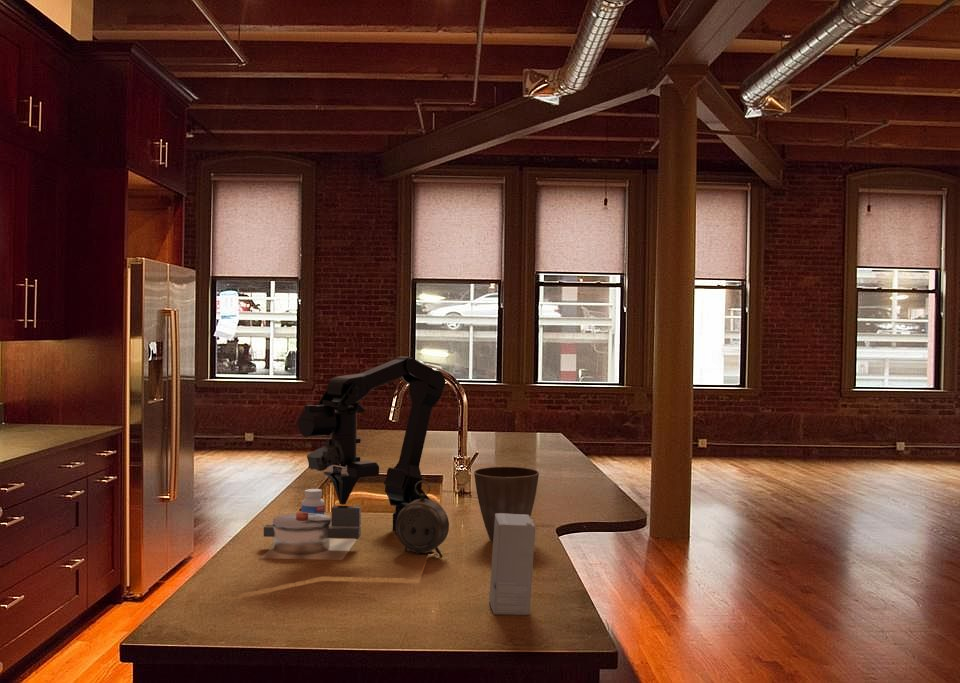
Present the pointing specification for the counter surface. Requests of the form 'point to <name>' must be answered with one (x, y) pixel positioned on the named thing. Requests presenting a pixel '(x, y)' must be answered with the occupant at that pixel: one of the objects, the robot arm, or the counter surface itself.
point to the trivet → (334, 553)
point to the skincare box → (512, 564)
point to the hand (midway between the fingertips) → (342, 504)
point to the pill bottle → (313, 502)
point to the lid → (320, 519)
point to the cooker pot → (307, 538)
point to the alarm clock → (422, 525)
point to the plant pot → (505, 492)
